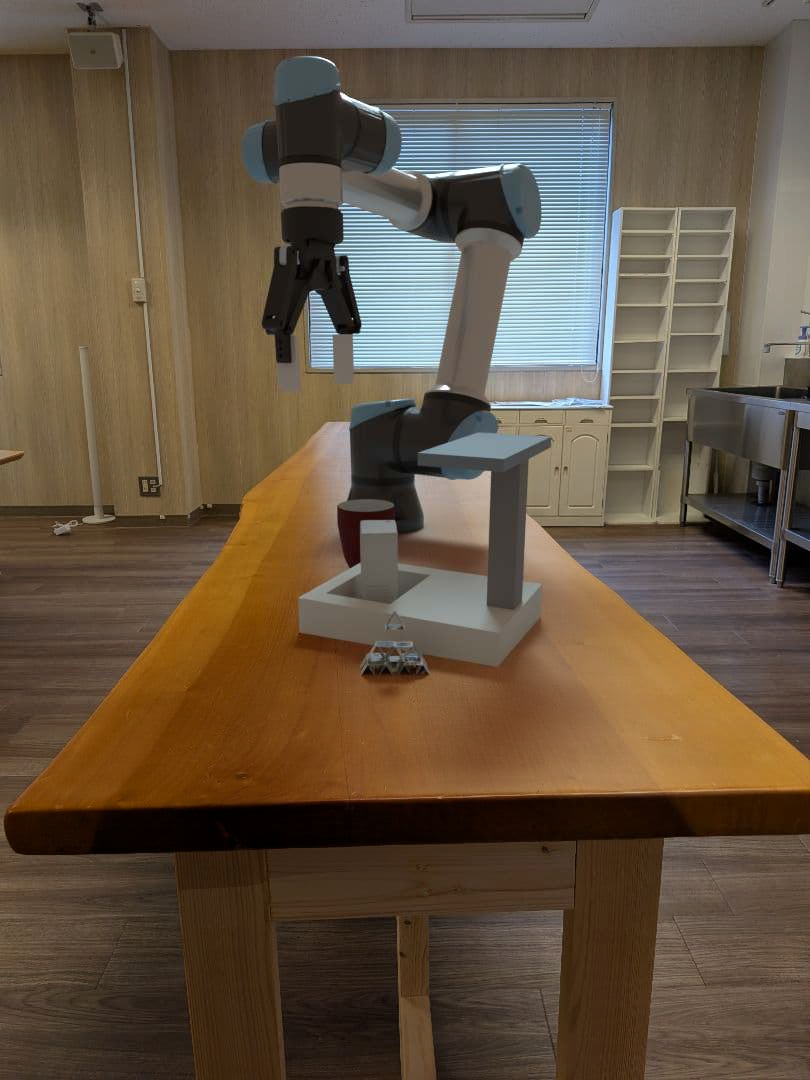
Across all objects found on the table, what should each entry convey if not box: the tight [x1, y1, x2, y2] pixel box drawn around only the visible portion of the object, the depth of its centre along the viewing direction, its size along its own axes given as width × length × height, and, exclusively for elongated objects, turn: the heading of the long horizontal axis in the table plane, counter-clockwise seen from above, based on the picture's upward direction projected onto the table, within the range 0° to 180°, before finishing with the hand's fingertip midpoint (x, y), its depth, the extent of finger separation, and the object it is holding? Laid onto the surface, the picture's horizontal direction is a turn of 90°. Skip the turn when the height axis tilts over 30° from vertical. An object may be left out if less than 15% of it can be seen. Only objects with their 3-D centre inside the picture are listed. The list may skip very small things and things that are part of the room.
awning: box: [418, 432, 552, 610], centre depth 77 cm, size 17×8×17 cm, turn 155°
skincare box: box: [360, 520, 399, 604], centre depth 84 cm, size 6×4×12 cm
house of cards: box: [360, 611, 430, 676], centre depth 72 cm, size 9×9×8 cm
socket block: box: [297, 562, 543, 668], centre depth 83 cm, size 16×23×5 cm
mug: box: [336, 499, 395, 569], centre depth 101 cm, size 11×8×10 cm
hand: (318, 387), depth 94 cm, fingers open, 13 cm apart
